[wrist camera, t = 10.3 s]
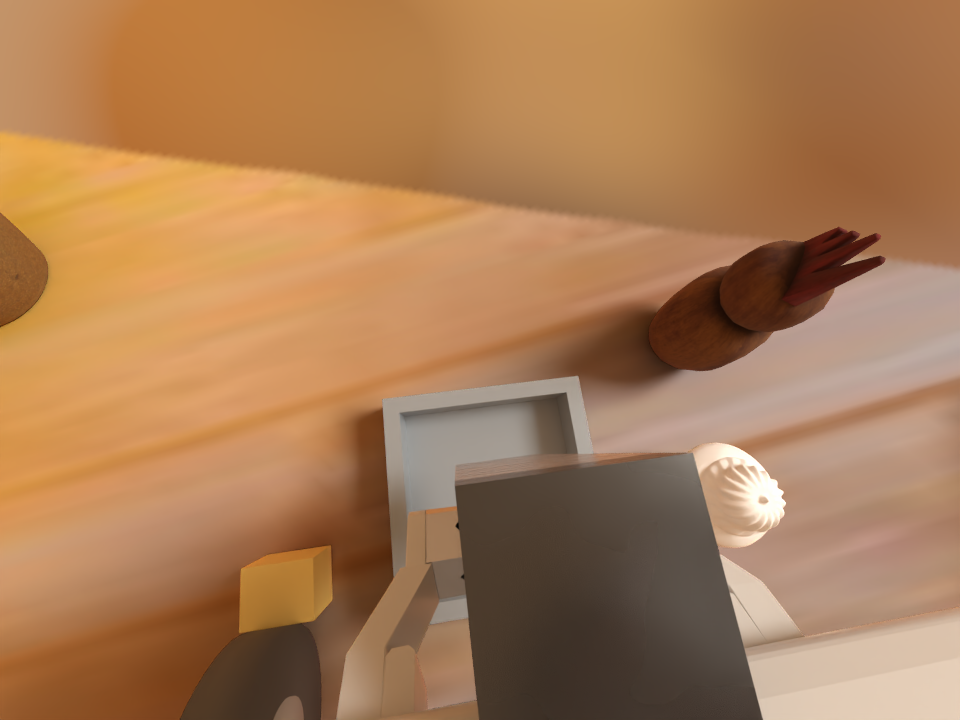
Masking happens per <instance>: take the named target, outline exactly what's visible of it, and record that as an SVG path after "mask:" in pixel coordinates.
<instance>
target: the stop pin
mask: <svg viewBox="0 0 960 720" xmlns="http://www.w3.org/2000/svg"><path fill="white" fill-rule="evenodd" d="M455 494H456V504H457V514H458V523H459V533H460V542H461V552H462V561H463V571H464V581H465V590H466V600H467V609H468V619H469V629H470V638H471V648H472V657H473V667H474V676H475V686H476V696H477V705H478V715H479V720H763V718H762V714H761V710H760V706H759V702H758V699H757V695H756V691H755V687H754V683H753V680H752V676H751V672H750V668H749V664H748V661H747V657H746V653H745V649H744V645H743V641H742V638H741V634H740V630H739V626H738V622H737V619H736V615H735V611H734V607H733V603H732V600H731V596H730V592H729V588H728V584H727V580H726V577H725V573H724V569H723V565H722V561H721V558H720V554H719V550H718V546H717V542H716V539H715V535H714V531H713V527H712V523H711V519H710V516H709V512H708V508H707V504H706V500H705V497H704V493H703V489H702V485H701V481H700V478H699V474H698V470H697V466H696V462H695V458H694V455H693V453H601V454H533V455H525V456H518V457H510V458H503V459H495V460H488V461H480V462H473V463H466V464H458V465H455Z"/></svg>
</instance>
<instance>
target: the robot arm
mask: <svg viewBox="0 0 960 720" xmlns="http://www.w3.org/2000/svg"><path fill="white" fill-rule="evenodd" d="M720 558H721V561H722V565H723V569H724V573H725V577H726V580H727V584H728V588H729V592H730V596H731V600H732V603H733V607H734V611H735V615H736V619H737V622H738V626H739V630H740V634H741V638H742V641H743V645H744V649H745V653H746V657H747V661H748V664H749V668H750V672H751V676H752V680H753V683H754V687H755V691H756V695H757V699H758V702H759V706H760V710H761V714H762V718H763V720H960V607H954V608H949V609H944V610H939V611H934V612H929V613H923V614H918V615H913V616H908V617H903V618H898V619H892V620H887V621H882V622H877V623H872V624H867V625H861V626H856V627H851V628H846V629H841V630H836V631H831V632H825V633H820V634H815V635H810V636H804V635H803V633H802V632H801V631H800V629H799V628H798V627H797V626H796V624H795V623H794V622H793V620H792V619H791V618H790V617H789V615H788V614H787V613H786V611H785V610H784V609H783V608H782V606H781V605H780V604H779V602H778V601H777V600H776V599H775V597H774V596H773V595H772V593H771V592H770V591H769V590H768V588H767V587H766V586H765V584H764V583H763V582H762V581H761V580H759V579H758V578H756V577H755V576H753V575H751V574H750V573H748V572H747V571H745V570H744V569H742V568H741V567H739V566H738V565H736V564H735V563H733V562H731V561H730V560H728V559H727V558H725V557H724V556H722V555H721V554H720ZM465 594H466V590H465V581H464V571H463V561H462V552H461V542H460V533H459V523H458V514H457V506H454V507H445V508H437V509H429V510H421V511H413V512H409V515H408V524H407V547H406V567H403V568H400V569H399V571H398V573H397V574H396V576H395V577H394V579H393V581H392V582H391V584H390V585H389V587H388V589H387V590H386V592H385V593H384V595H383V597H382V598H381V600H380V601H379V603H378V604H377V606H376V608H375V609H374V611H373V612H372V614H371V616H370V617H369V619H368V620H367V622H366V624H365V625H364V627H363V628H362V630H361V632H360V633H359V635H358V636H357V638H356V640H355V641H354V643H353V644H352V646H351V647H350V649H349V651H348V652H347V654H346V659H345V666H344V672H343V678H342V685H341V691H340V697H339V704H338V710H337V717H336V720H479V715H478V705H477V700H474V701H469V702H464V703H459V704H454V705H449V706H444V707H438V708H433V709H428V710H427V689H426V686H425V683H424V679H423V676H422V673H421V669H420V666H419V663H418V659H417V656H416V654H417V651H418V649H419V647H420V645H421V642H422V640H423V638H424V636H425V633H426V631H427V629H428V626H429V624H430V622H431V620H432V617H433V615H434V613H435V610H436V608H437V606H438V604H439V600H440V599H445V598H450V597H455V596H460V595H465Z"/></svg>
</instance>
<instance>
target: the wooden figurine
mask: <svg viewBox="0 0 960 720" xmlns="http://www.w3.org/2000/svg"><path fill="white" fill-rule="evenodd" d="M859 235H860V234H859V233H857V232H855V231H850V232H848V233H847V231H846V230H844V229H842V228H840V227H838V228H835V229H833V230H830V231H828V232H825V233H823V234H821V235H819V236H816V237H814V238H812V239H810V240H807V241H805V242H796V241H786V240H783V241H778V242H772V243H769V244H766V245H763V246H760V247H758V248H756V249H755V250H753V251H751V252H749V253H748V254H746V255H744V256H743V257H741V258H740V259H738V260H737V261H736V262H734V263H733V264H732V265H731V266H725V267H720V268H717V269H715V270H712V271H710V272H707V273H705V274H703V275H701V276H700V277H698V278H696V279H695V280H693V281H692V282H691V283H689V284H688V285H687V286H685V287H684V288H682V289H681V290H680V291H678V292H677V293H676V294H675V295H674V296H673V297H671V298H670V299H669V300H668V301H667V302H666V303H665V304H664V305H663V306H662V307H661V308H660V309H659V311H658V312H657V314H656V315H655V317H654V319H653V320H652V322H651V324H650V327H649V343H650V345H651V347H652V349H653V351H654V352H655V354H656V355H657V356H658V357H659V358H660V359H661V360H662V361H663V362H665V363H667V364H669V365H671V366H673V367H675V368H677V369H686V370H695V371H708V370H713V369H716V368H719V367H722V366H724V365H726V364H728V363H731V362H733V361H735V360H737V359H739V358H741V357H744V356H745V355H747V354H748V353H750V352H751V351H753V350H754V349H755V348H757V347H758V346H760V345H761V344H762V343H764V342H765V341H766V340H767V339H768V338H769V337H770V335H771V334H772V333H773V332H774V331H778V330H783V329H786V328H790V327H793V326H795V325H797V324H799V323H802V322H804V321H805V320H807V319H809V318H810V317H812V316H814V315H815V314H817V313H818V312H819V311H821V310H822V309H823V308H824V307H825V305H826V304H827V302H828V301H829V299H830V298H831V296H832V294H833V293H834V289H835V287H837V286H839V285H841V284H843V283H845V282H847V281H849V280H851V279H853V278H855V277H857V276H860V275H862V274H864V273H866V272H868V271H870V270H872V269H874V268H876V267H878V266H880V265H882V264H883V263H884V262H885V259H886V258H884V257H882V256H877V257H873V258H869V259H866V260H862V261H858V262H854V263H850V264H846V265H842V264H844V263H845V262H847V261H848V260H850V259H851V258H853V257H854V256H856V255H857V254H859V253H860V252H862V251H863V250H865V249H866V248H868V247H869V246H871V245H872V244H874V243H875V242H877V241H878V240H879V239H880V237H881V235H879V234H877V233H876V234H873V235H870V236H868V237H865V238H863V239H860V240H858V241H855V240H856V239H857V238H858V237H859ZM853 241H855V242H853ZM852 242H853V243H852ZM841 265H842V266H841Z"/></svg>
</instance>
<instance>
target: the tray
mask: <svg viewBox="0 0 960 720" xmlns="http://www.w3.org/2000/svg"><path fill="white" fill-rule="evenodd" d="M382 403H383V418H384V434H385V450H386V465H387V481H388V497H389V512H390V528H391V544H392V559H393V575H394V577H395V576H396V574H397V573H398V571H399V569H400V568H403V567H406V547H407V524H408V515H409V512H413V511H421V510H429V509H437V508H445V507H454V506H457V504H456V494H455V465H458V464H466V463H473V462H480V461H488V460H495V459H503V458H510V457H518V456H525V455H533V454H594V453H593V448H592V443H591V438H590V433H589V428H588V423H587V418H586V412H585V407H584V402H583V397H582V392H581V387H580V382H579V377H578V376H572V377H564V378H555V379H547V380H539V381H530V382H522V383H513V384H505V385H497V386H488V387H480V388H471V389H463V390H455V391H446V392H438V393H429V394H421V395H413V396H404V397H396V398H387V399H382ZM466 618H468V609H467V600H466V594H465V595H460V596H455V597H450V598H445V599H440V600H439V604H438V606H437V608H436V610H435V613H434V615H433V617H432V620H431V622H430V624H429V625H431V624H436V623H442V622H448V621H454V620H460V619H466Z"/></svg>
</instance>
